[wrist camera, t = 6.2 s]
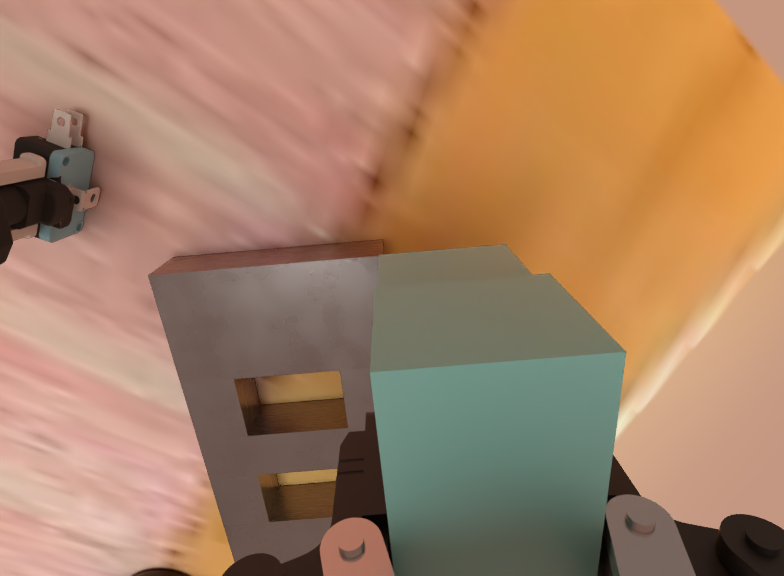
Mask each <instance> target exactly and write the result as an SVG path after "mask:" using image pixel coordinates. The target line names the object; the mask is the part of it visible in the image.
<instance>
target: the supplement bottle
mask: <svg viewBox="0 0 784 576" xmlns="http://www.w3.org/2000/svg"><path fill="white" fill-rule="evenodd" d="M135 576H185V575H183V574H181V573H178V572H174V571H169V570H150V571H146V572H142V573H140V574H138V575H135Z"/></svg>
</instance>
